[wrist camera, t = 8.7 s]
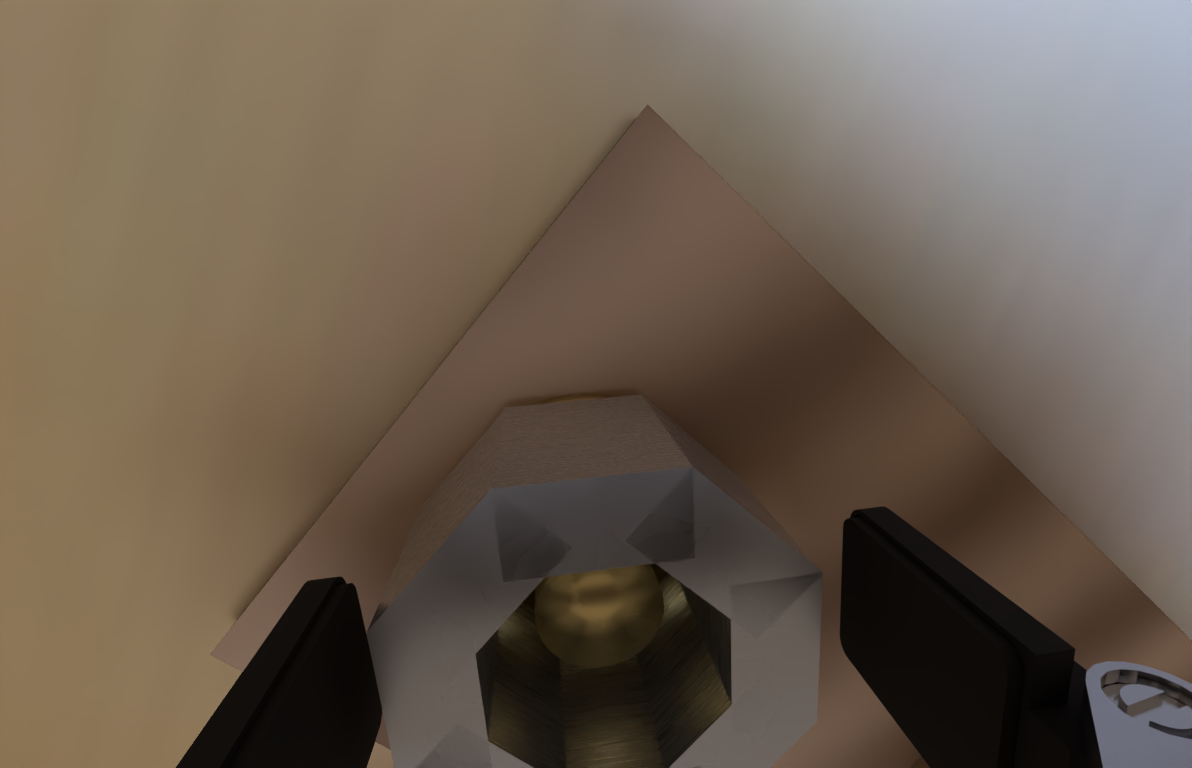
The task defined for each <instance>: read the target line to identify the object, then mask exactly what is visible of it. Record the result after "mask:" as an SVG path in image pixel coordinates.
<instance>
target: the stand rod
mask: <svg viewBox="0 0 1192 768" xmlns="http://www.w3.org/2000/svg"><path fill="white" fill-rule="evenodd" d="M911 768H930V767H929V766H928V764H927V763H926V762H925V760H924V759H923V758H922V757H921V758H920V759H918V760H917V761H916V762H915V763H914V765H913V766H912V767H911Z"/></svg>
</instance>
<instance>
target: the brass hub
mask: <svg viewBox="0 0 1192 768" xmlns="http://www.w3.org/2000/svg"><path fill="white" fill-rule="evenodd" d="M608 397H617V396H612V395H605V394H593V393H586V394H570V395H564V396H558V397H553V398H549V399H546V400H543V401H540V402H536V403H534V404H531V405H536V404H546V403H557V402H567V401H577V400H587V399H597V398H608ZM667 574H668V572H666V571H665V570H664V569H662V568H661V567H659V566H658V565H657V564H655V563H653V564H645V565H637V566H629V567H621V568H613V569H605V570H597V571H589V572H581V573H573V574H565V575H557V576H549V577H545V578H544V579H543V580H542V581H541V582H540V583H539V584H538V586H537V587H536V588H535V589H534V590H533V591H532V592H531V593H530V594H529V595H528V597H527V598H526V599H525V600H524V601H523V602H522V603H523V604H525V605H526V606H528V607H529V608H531V609H532V610H534V611H535V623H536V628H537V631H538V634H539V636H540V638H541V640H542V641H543V643H544V644H545V646H546V647H547V648H548V649H549V650H550V651H551V652H552V653H553V654H555V655H556V656H557V657H559V658H560V659H562V660H564V661H566V662H568V663H571V664H574V665H578V666H583V667H606V666H611V665H615V664H618V663H621V662H623V661H626V660H628V659H630V658H631V657H633V656H635V655H636V654H638V653H639V652H640V651H642V650H643V649H644V648H645V647H646V646H647V645H648V644H649V643H650V642H651V640H652V639H653V638H654V636H655V635H656V633H657V632H658V629H659V627H660V625H661V622H662V619H663V613H664V599H663V594H662V591H661V588H660V585H659V582H660V581H661V580H662V579H663V578H664V577H665V576H666V575H667Z"/></svg>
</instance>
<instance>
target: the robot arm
mask: <svg viewBox="0 0 1192 768" xmlns="http://www.w3.org/2000/svg"><path fill="white" fill-rule="evenodd" d="M840 641H841V645H842V648H843V650H844V653H845V654H846V656H847V658H848V659H849V660H850V662H851V663H852V664H853V666H854V667H855V668H856V670H857V671H858V672H859V674H860V675H861V676H862V678H863V679H864V680H865V682H866V683H867V684H868V686H869V687H870V688H871V690H872V691H873V692H874V694H875V695H876V696H877V698H878V699H879V700H880V702H881V703H882V704H883V706H884V707H885V708H886V710H887V711H888V712H889V714H890V715H891V716H892V718H893V719H894V720H895V722H896V723H897V724H898V726H899V727H900V728H901V730H902V731H903V732H904V734H905V735H906V736H907V738H908V739H909V740H910V742H911V743H912V744H913V746H914V747H915V748H916V750H917V751H918V752H919V754H920V755H921V756H922V758H923V759H924V760H925V762H926V763H927V764H928V766H929V767H930V768H1192V684H1191V683H1189V682H1187V681H1184V680H1182V679H1180V678H1178V677H1176V676H1174V675H1171V674H1169V673H1166V672H1163V671H1160V670H1157V669H1154V668H1151V667H1148V666H1144V665H1139V664H1134V663H1129V662H1115V661H1107V662H1103V663H1098V664H1094V665H1093V666H1092V667H1091V668H1090V669H1089V670H1086V669H1084V668H1083V667H1082V666H1081V665H1079V664H1078V663H1077V662H1075V661H1074V656H1075V650H1076V649H1075V648H1074V647H1072V646H1071V645H1070V644H1068V643H1067V642H1066V641H1064V640H1063V639H1062V638H1060V637H1059V636H1058V635H1056V634H1055V633H1054V632H1052V631H1051V630H1050V629H1048V628H1047V627H1046V626H1044V625H1043V624H1042V623H1040V622H1039V621H1038V620H1036V619H1035V618H1034V617H1032V616H1031V615H1030V614H1028V613H1027V612H1026V611H1024V610H1023V609H1022V608H1020V607H1019V606H1018V605H1016V604H1015V603H1014V602H1012V601H1011V600H1010V599H1008V598H1007V597H1006V596H1004V595H1003V594H1002V593H1000V592H999V591H998V590H997V589H995V588H994V587H993V586H991V585H990V584H989V583H987V582H986V581H985V580H983V579H982V578H981V577H979V576H978V575H977V574H975V573H974V572H973V571H971V570H970V569H969V568H967V567H966V566H965V565H963V564H962V563H961V562H959V561H958V560H957V559H955V558H954V557H953V556H951V555H950V554H949V553H947V552H946V551H945V550H943V549H942V548H941V547H939V546H938V545H937V544H935V543H934V542H933V541H931V540H930V539H929V538H927V537H926V536H925V535H923V534H922V533H921V532H919V531H918V530H917V529H915V528H914V527H913V526H911V525H910V524H909V523H907V522H906V521H905V520H903V519H902V518H901V517H899V516H898V515H897V514H895V513H894V512H893V511H891V510H890V509H889V508H887V507H885V506H881V507H873V508H865V509H857V510H854V511H853V512H852V514H851V516H850V518H847V519H846V520H845V521H844V523H843V543H842V575H841V607H840ZM381 719H382V705H381V701H380V696H379V691H378V686H377V681H376V676H375V672H374V667H373V662H372V657H371V652H370V648H369V643H368V639H367V634H366V630H365V625H364V621H363V616H362V612H361V607H360V603H359V598H358V594H357V590H356V587H355V585H354V584H353V583H348V584H346V581H345V580H344V578H343V577H341V576H339V577H331V578H323V579H315V580H309V581H307V582H306V583H305V584H304V585H303V586H302V588H301V589H300V591H299V592H298V593H297V595H296V596H295V598H294V599H293V601H292V602H291V603H290V605H289V606H288V608H287V609H286V611H285V612H284V613H283V615H282V616H281V618H280V619H279V621H278V622H277V623H276V625H275V626H274V628H273V629H272V631H271V632H270V634H269V635H268V636H267V638H266V639H265V641H264V642H263V644H262V645H261V646H260V648H259V649H258V651H257V652H256V654H255V655H254V656H253V658H252V659H251V661H250V662H249V664H248V665H247V666H246V668H245V669H244V671H243V672H242V674H241V675H240V676H239V678H238V679H237V681H236V682H235V684H234V685H233V686H232V688H231V689H230V691H229V692H228V694H227V695H226V697H225V698H224V699H223V701H222V702H221V704H220V705H219V707H218V708H217V709H216V711H215V712H214V714H213V715H212V717H211V718H210V719H209V721H208V722H207V724H206V725H205V727H204V728H203V729H202V731H201V732H200V734H199V735H198V737H197V738H196V739H195V741H194V742H193V744H192V745H191V747H190V748H189V749H188V751H187V752H186V754H185V755H184V757H183V758H182V760H181V761H180V762H179V764H178V765H177V767H176V768H366V767H367V764H368V761H369V758H370V755H371V752H372V749H373V746H374V743H375V740H376V737H377V734H378V731H379V728H380V725H381Z"/></svg>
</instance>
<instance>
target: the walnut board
mask: <svg viewBox="0 0 1192 768" xmlns="http://www.w3.org/2000/svg"><path fill="white" fill-rule="evenodd" d="M586 393H593V394H605V395H612V396H617V397H618V396H628V395H638V394H641V395H643V396H644V397H645V398H646V399H647V400H649V401H650V402H651V403H652V404H653V405H655V406H656V407H657V408H658V409H659V410H661V411H662V412H663V413H664V414H665V415H667V416H668V417H669V418H670V419H671V420H672V421H674V422H675V423H676V424H677V425H678V426H680V427H681V428H682V429H683V430H684V431H686V432H687V433H688V434H689V435H690V436H692V437H693V438H694V439H695V440H696V441H698V442H699V443H700V444H701V445H702V446H704V447H705V448H706V449H707V450H708V451H710V452H711V453H712V454H713V455H714V456H716V457H717V458H718V459H719V460H720V461H722V462H723V463H724V464H725V465H726V466H728V467H729V468H730V469H731V470H732V471H734V472H735V474H736V475H737V476H738V477H739V478H740V479H741V480H742V482H743V483H744V484H745V485H746V486H747V487H748V488H749V490H750V491H751V492H752V493H753V494H754V495H755V496H756V498H757V499H758V500H759V501H760V502H761V503H762V504H763V505H764V507H765V508H766V509H767V510H768V511H769V512H770V513H771V515H772V516H773V517H774V518H775V519H776V520H777V521H778V523H779V524H780V525H781V526H782V527H783V528H784V529H785V531H786V532H787V533H788V534H789V535H790V536H791V537H792V538H793V540H794V541H795V542H796V543H797V544H798V545H799V546H800V548H801V549H802V550H803V551H804V552H805V553H806V554H807V556H808V557H809V558H810V559H811V560H812V561H813V562H814V564H815V565H816V566H817V567H818V568H819V569H820V570H821V571H822V573H823V583H822V609H821V634H820V660H819V685H818V710H817V723H815V724H814V725H813V726H812V727H811V728H810V729H809V730H808V731H807V732H806V733H805V734H804V735H803V736H802V737H801V738H800V739H799V740H798V741H797V742H796V743H795V744H794V745H793V746H792V747H791V748H790V749H789V750H788V751H787V752H786V753H785V754H783V755H782V756H781V757H780V758H779V759H778V760H777V761H776V762H775V763H774V764H773V765H772V766H771V767H770V768H911V767H912V766H913V765H914V763H915V762H916V761H917V760H918V759H920V758H921V757H922V756H921V755H920V754H919V752H918V751H917V750H916V748H915V747H914V746H913V744H912V743H911V742H910V740H909V739H908V738H907V736H906V735H905V734H904V732H903V731H902V730H901V728H900V727H899V726H898V724H897V723H896V722H895V720H894V719H893V718H892V716H891V715H890V714H889V712H888V711H887V710H886V708H885V707H884V706H883V704H882V703H881V702H880V700H879V699H878V698H877V696H876V695H875V694H874V692H873V691H872V690H871V688H870V687H869V686H868V684H867V683H866V682H865V680H864V679H863V678H862V676H861V675H860V674H859V672H858V671H857V670H856V668H855V667H854V666H853V664H852V663H851V662H850V660H849V659H848V658H847V656H846V654H845V653H844V650H843V648H842V645H841V641H840V607H841V575H842V543H843V523H844V521H845V520H846V519H847V518H850V516H851V514H852V512H853V511H854V510H857V509H865V508H873V507H881V506H885V507H887V508H889V509H890V510H891V511H893V512H894V513H895V514H897V515H898V516H899V517H901V518H902V519H903V520H905V521H906V522H907V523H909V524H910V525H911V526H913V527H914V528H915V529H917V530H918V531H919V532H921V533H922V534H923V535H925V536H926V537H927V538H929V539H930V540H931V541H933V542H934V543H935V544H937V545H938V546H939V547H941V548H942V549H943V550H945V551H946V552H947V553H949V554H950V555H951V556H953V557H954V558H955V559H957V560H958V561H959V562H961V563H962V564H963V565H965V566H966V567H967V568H969V569H970V570H971V571H973V572H974V573H975V574H977V575H978V576H979V577H981V578H982V579H983V580H985V581H986V582H987V583H989V584H990V585H991V586H993V587H994V588H995V589H997V590H998V591H999V592H1000V593H1002V594H1003V595H1004V596H1006V597H1007V598H1008V599H1010V600H1011V601H1012V602H1014V603H1015V604H1016V605H1018V606H1019V607H1020V608H1022V609H1023V610H1024V611H1026V612H1027V613H1028V614H1030V615H1031V616H1032V617H1034V618H1035V619H1036V620H1038V621H1039V622H1040V623H1042V624H1043V625H1044V626H1046V627H1047V628H1048V629H1050V630H1051V631H1052V632H1054V633H1055V634H1056V635H1058V636H1059V637H1060V638H1062V639H1063V640H1064V641H1066V642H1067V643H1068V644H1070V645H1071V646H1072V647H1074V648H1075V649H1076V650H1075V656H1074V661H1075V662H1077V663H1078V664H1079V665H1081V666H1082V667H1083V668H1084V669H1086V670H1089V669H1090V668H1091V667H1092V666H1093V665H1094V664H1098V663H1103V662H1107V661H1115V662H1129V663H1134V664H1139V665H1144V666H1148V667H1151V668H1154V669H1157V670H1160V671H1163V672H1166V673H1169V674H1171V675H1174V676H1176V677H1178V678H1180V679H1182V680H1184V681H1187V682H1189V683H1191V684H1192V640H1191V639H1190V638H1189V637H1188V636H1187V635H1186V634H1185V633H1184V632H1183V631H1182V630H1181V629H1180V628H1179V627H1177V626H1176V625H1175V624H1174V623H1173V622H1172V621H1171V620H1170V619H1169V618H1168V617H1167V616H1166V615H1165V614H1164V613H1163V612H1162V611H1161V610H1160V609H1159V608H1158V607H1157V606H1156V605H1155V604H1154V603H1153V602H1152V601H1151V600H1150V599H1149V598H1148V597H1147V596H1146V595H1145V594H1144V593H1143V592H1142V591H1141V590H1140V589H1139V588H1138V587H1137V586H1136V585H1135V584H1134V583H1133V582H1132V581H1131V580H1130V579H1129V578H1128V577H1127V576H1126V575H1125V574H1124V573H1123V572H1122V571H1121V570H1120V569H1119V568H1118V567H1117V566H1116V565H1115V564H1114V563H1113V562H1111V561H1110V560H1109V559H1108V558H1107V557H1106V556H1105V555H1104V554H1103V553H1102V552H1101V551H1100V550H1099V549H1098V548H1097V547H1096V546H1095V545H1094V544H1093V543H1092V542H1091V541H1090V540H1089V539H1088V538H1087V537H1086V536H1085V535H1084V534H1083V533H1082V532H1081V531H1080V530H1079V529H1078V528H1077V527H1076V526H1075V525H1074V524H1073V523H1072V522H1071V521H1070V520H1069V519H1068V518H1067V517H1066V516H1065V515H1064V514H1063V513H1062V512H1061V511H1060V510H1059V509H1058V508H1057V507H1056V506H1055V505H1054V504H1053V503H1052V502H1051V501H1050V500H1049V499H1048V498H1047V497H1046V496H1044V495H1043V494H1042V493H1041V492H1040V491H1039V490H1038V489H1037V488H1036V487H1035V486H1034V485H1033V484H1032V483H1031V482H1030V481H1029V480H1028V479H1027V478H1026V477H1025V476H1024V475H1023V474H1022V473H1021V472H1020V471H1019V470H1018V469H1017V468H1016V467H1015V466H1014V465H1013V464H1012V463H1011V462H1010V461H1009V460H1008V459H1007V458H1006V457H1005V456H1004V455H1003V454H1002V453H1001V452H1000V451H999V450H998V449H997V448H996V447H995V446H994V445H993V444H992V443H991V442H990V441H989V440H988V439H987V438H986V437H985V436H984V435H983V434H982V433H981V432H980V431H978V430H977V429H976V428H975V427H974V426H973V425H972V424H971V423H970V422H969V421H968V420H967V419H966V418H965V417H964V416H963V415H962V414H961V413H960V412H959V411H958V410H957V409H956V408H955V407H954V406H953V405H952V404H951V403H950V402H949V401H948V400H947V399H946V398H945V397H944V396H943V395H942V394H941V393H940V392H939V391H938V390H937V389H936V388H935V387H934V386H933V385H932V384H931V383H930V382H929V381H928V380H927V379H926V378H925V377H924V376H923V375H922V374H921V373H920V372H919V371H918V370H917V369H916V368H915V367H914V366H913V365H911V364H910V363H909V362H908V361H907V360H906V359H905V358H904V357H903V356H902V355H901V354H900V353H899V352H898V351H897V350H896V349H895V348H894V347H893V346H892V345H891V344H890V343H889V342H888V341H887V340H886V339H885V338H884V337H883V336H882V335H881V334H880V333H879V332H878V331H877V330H876V329H875V328H874V327H873V326H872V325H871V324H870V323H869V322H868V321H867V320H866V319H865V318H864V317H863V316H862V315H861V314H860V313H859V312H858V311H857V310H856V309H855V308H854V307H853V306H852V305H851V304H850V303H849V302H848V301H847V300H845V299H844V298H843V297H842V296H841V295H840V294H839V293H838V292H837V291H836V290H835V289H834V288H833V287H832V286H831V285H830V284H829V283H828V282H827V281H826V280H825V279H824V278H823V277H822V276H821V275H820V274H819V273H818V272H817V271H816V270H815V269H814V268H813V267H812V266H811V265H810V264H809V263H808V262H807V261H806V260H805V259H804V258H803V257H802V256H801V255H800V254H799V253H798V252H797V251H796V250H795V249H794V248H793V247H792V246H791V245H790V244H789V243H788V242H787V241H786V240H785V239H784V238H783V237H782V236H781V235H780V234H778V233H777V232H776V231H775V230H774V229H773V228H772V227H771V226H770V225H769V224H768V223H767V222H766V221H765V220H764V219H763V218H762V217H761V216H760V215H759V214H758V213H757V212H756V211H755V210H754V209H753V208H752V207H751V206H750V205H749V204H748V203H747V202H746V201H745V200H744V199H743V198H742V197H741V196H740V195H739V194H738V193H737V192H736V191H735V190H734V189H733V188H732V187H731V186H730V185H729V184H728V183H727V182H726V181H725V180H724V179H723V178H722V177H721V176H720V175H719V174H718V173H717V172H716V171H715V170H714V169H712V168H711V167H710V166H709V165H708V164H707V163H706V162H705V161H704V160H703V159H702V158H701V157H700V156H699V155H698V154H697V153H696V152H695V151H694V150H693V149H692V148H691V147H690V146H689V145H688V144H687V143H686V142H685V141H684V140H683V139H682V138H681V137H680V136H679V135H678V134H677V133H676V132H675V131H674V130H673V129H672V128H671V127H670V126H669V125H668V124H667V123H666V122H665V121H664V120H663V119H662V118H661V117H660V116H659V115H658V114H657V113H656V112H655V111H654V110H653V109H652V108H651V107H650V106H649V105H647V106H646V107H645V109H644V110H643V111H642V112H641V114H640V115H639V116H638V117H637V119H636V120H635V121H634V122H633V124H632V125H631V126H630V127H629V129H628V130H627V131H626V132H625V134H624V135H623V136H622V137H621V139H620V140H619V141H618V142H617V144H616V145H615V146H614V147H613V149H612V150H611V151H610V153H609V154H608V155H607V156H606V158H605V159H604V160H603V161H602V163H601V164H600V165H599V166H598V168H597V169H596V170H595V171H594V173H593V174H592V175H591V176H590V178H589V179H588V180H587V181H586V183H585V184H584V185H583V186H582V188H581V189H580V190H579V191H578V193H577V194H576V195H575V196H574V198H573V199H572V200H571V201H570V203H569V204H568V205H567V207H566V208H565V209H564V210H563V212H562V213H561V214H560V215H559V217H558V218H557V219H556V220H555V222H554V223H553V224H552V225H551V227H550V228H549V229H548V230H547V232H546V233H545V234H544V235H543V237H542V238H541V239H540V240H539V242H538V243H537V244H536V245H535V247H534V248H533V249H532V250H531V252H530V253H529V254H528V255H527V257H526V258H525V259H524V261H523V262H522V263H521V264H520V266H519V267H518V268H517V269H516V271H515V272H514V273H513V274H512V276H511V277H510V278H509V279H508V281H507V282H506V283H505V284H504V286H503V287H502V288H501V289H500V291H499V292H498V293H497V294H496V296H495V297H494V298H493V299H492V301H491V302H490V303H489V304H488V306H487V307H486V308H485V309H484V311H483V312H482V313H481V315H480V316H479V317H478V318H477V320H476V321H475V322H474V323H473V325H472V326H471V327H470V328H469V330H468V331H467V332H466V333H465V335H464V336H463V337H462V338H461V340H460V341H459V342H458V343H457V345H456V346H455V347H454V348H453V350H452V351H451V352H450V353H449V355H448V356H447V357H446V358H445V360H444V361H443V362H442V363H441V365H440V366H439V367H438V369H437V370H436V371H435V372H434V374H433V375H432V376H431V377H430V379H429V380H428V381H427V382H426V384H425V385H424V386H423V387H422V389H421V390H420V391H419V392H418V394H417V395H416V396H415V397H414V399H413V400H412V401H411V402H410V404H409V405H408V406H407V407H406V409H405V410H404V411H403V412H402V414H401V415H400V416H399V417H398V419H397V420H396V421H395V423H394V424H393V425H392V426H391V428H390V429H389V430H388V431H387V433H386V434H385V435H384V436H383V438H382V439H381V440H380V441H379V443H378V444H377V445H376V446H375V448H374V449H373V450H372V451H371V453H370V454H369V455H368V456H367V458H366V459H365V460H364V461H363V463H362V464H361V465H360V466H359V468H358V469H357V470H356V471H355V473H354V474H353V475H352V477H351V478H350V479H349V480H348V482H347V483H346V484H345V485H344V487H343V488H342V489H341V490H340V492H339V493H338V494H337V495H336V497H335V498H334V499H333V500H332V502H331V503H330V504H329V505H328V507H327V508H326V509H325V510H324V512H323V513H322V514H321V515H320V517H319V518H318V519H317V520H316V522H315V523H314V524H313V525H312V527H311V528H310V529H309V531H308V532H307V533H306V534H305V536H304V537H303V538H302V539H301V541H300V542H299V543H298V544H297V546H296V547H295V548H294V549H293V551H292V552H291V553H290V554H289V556H288V557H287V558H286V559H285V561H284V562H283V563H282V564H281V566H280V567H279V568H278V569H277V571H276V572H275V573H274V574H273V576H272V577H271V578H270V579H269V581H268V582H267V583H266V585H265V586H264V587H263V588H262V590H261V591H260V592H259V593H258V595H257V596H256V597H255V598H254V600H253V601H252V602H251V603H250V605H249V606H248V607H247V608H246V610H245V611H244V612H243V613H242V615H241V616H240V617H239V618H238V620H237V621H236V622H235V623H234V625H233V626H232V627H231V629H230V630H229V631H228V632H227V634H226V635H225V636H224V637H223V639H222V640H221V641H220V642H219V644H218V645H217V646H216V647H215V649H214V650H213V651H212V653H211V654H210V655H211V656H213V657H215V658H217V659H219V660H221V661H223V662H225V663H227V664H228V665H230V666H232V667H234V668H236V669H238V670H240V671H242V672H243V671H244V669H245V668H246V666H247V665H248V664H249V662H250V661H251V659H252V658H253V656H254V655H255V654H256V652H257V651H258V649H259V648H260V646H261V645H262V644H263V642H264V641H265V639H266V638H267V636H268V635H269V634H270V632H271V631H272V629H273V628H274V626H275V625H276V623H277V622H278V621H279V619H280V618H281V616H282V615H283V613H284V612H285V611H286V609H287V608H288V606H289V605H290V603H291V602H292V601H293V599H294V598H295V596H296V595H297V593H298V592H299V591H300V589H301V588H302V586H303V585H304V584H305V583H306V582H307V581H309V580H315V579H323V578H331V577H339V576H341V577H343V578H344V580H345V581H346V584H348V583H353V584H354V585H355V587H356V590H357V594H358V598H359V603H360V607H361V612H362V616H363V621H364V625H365V630H366V634H367V630H368V628H369V626H370V623H371V621H372V619H373V616H374V614H375V612H376V610H377V607H378V605H379V603H380V600H381V598H382V596H383V593H384V591H385V589H386V586H387V584H388V582H389V580H390V577H391V575H392V573H393V570H394V568H395V566H396V563H397V561H398V559H399V556H400V554H401V552H402V549H403V547H404V545H405V543H406V540H407V538H408V536H409V533H410V531H411V529H412V526H413V524H414V522H415V519H416V517H417V515H418V512H419V510H420V508H421V506H422V505H423V504H424V503H425V502H426V500H427V499H428V498H429V497H430V496H431V495H432V493H433V492H434V491H435V490H436V489H437V487H438V486H439V485H440V484H441V483H442V482H443V480H444V479H445V478H446V477H447V476H448V475H449V473H450V472H451V471H452V470H453V469H454V467H455V466H456V465H457V464H458V463H459V462H460V460H461V459H462V458H463V457H464V456H465V454H466V453H467V452H468V451H469V450H470V449H471V447H472V446H473V445H474V444H475V443H476V442H477V440H478V439H479V438H480V437H481V436H482V434H483V433H484V432H485V431H486V430H487V429H488V427H489V426H490V425H491V424H492V423H493V422H494V420H495V419H496V418H497V417H498V416H499V414H500V413H501V412H502V411H503V410H504V409H505V408H506V407H516V406H526V405H531V404H534V403H536V402H540V401H543V400H546V399H549V398H553V397H558V396H564V395H570V394H586ZM367 639H368V638H367ZM368 643H369V642H368ZM369 648H370V647H369ZM375 742H377V743H379V744H381V745H383V746H385V747H387V748H389V749H390V744H389V739H388V734H387V730H386V725H385V720H384V715H383V710H382V719H381V725H380V728H379V731H378V734H377V737H376V740H375ZM390 750H391V749H390Z"/></svg>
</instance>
